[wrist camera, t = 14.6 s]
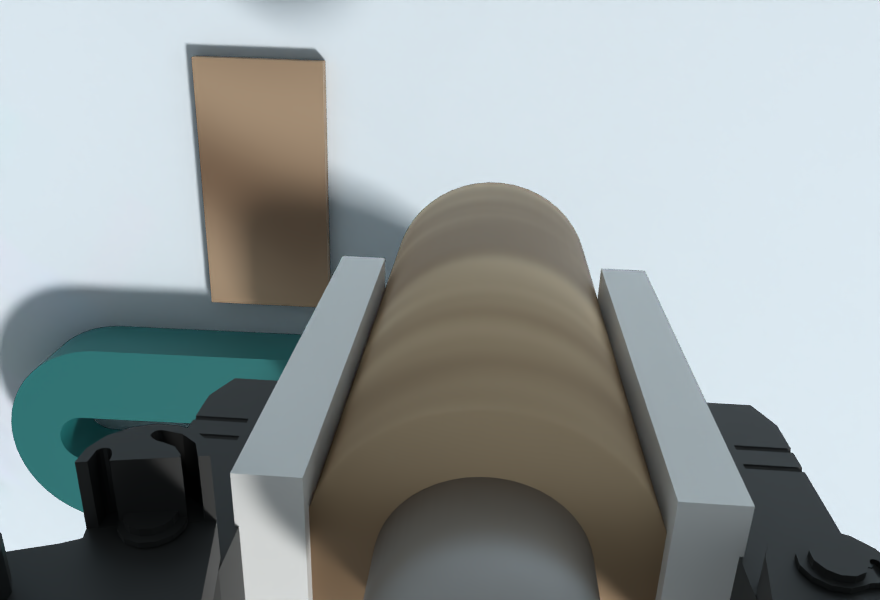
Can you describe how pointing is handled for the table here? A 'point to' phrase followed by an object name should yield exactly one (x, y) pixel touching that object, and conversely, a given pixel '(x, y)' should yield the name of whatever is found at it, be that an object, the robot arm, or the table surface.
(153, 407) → the bracket
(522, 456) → the tan cylinder gray tip
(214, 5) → the table surface
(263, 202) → the wooden slat
